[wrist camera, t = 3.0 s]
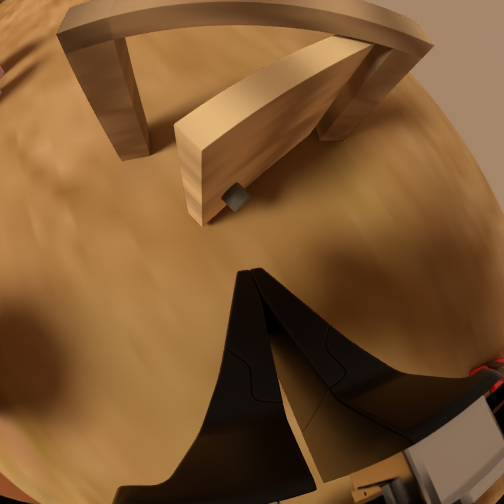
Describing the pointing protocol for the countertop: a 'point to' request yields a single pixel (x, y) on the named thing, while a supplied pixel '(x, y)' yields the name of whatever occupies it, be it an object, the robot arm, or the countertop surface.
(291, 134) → the door
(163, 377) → the countertop surface
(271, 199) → the countertop surface
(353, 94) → the frame
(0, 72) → the clip
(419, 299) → the countertop surface
